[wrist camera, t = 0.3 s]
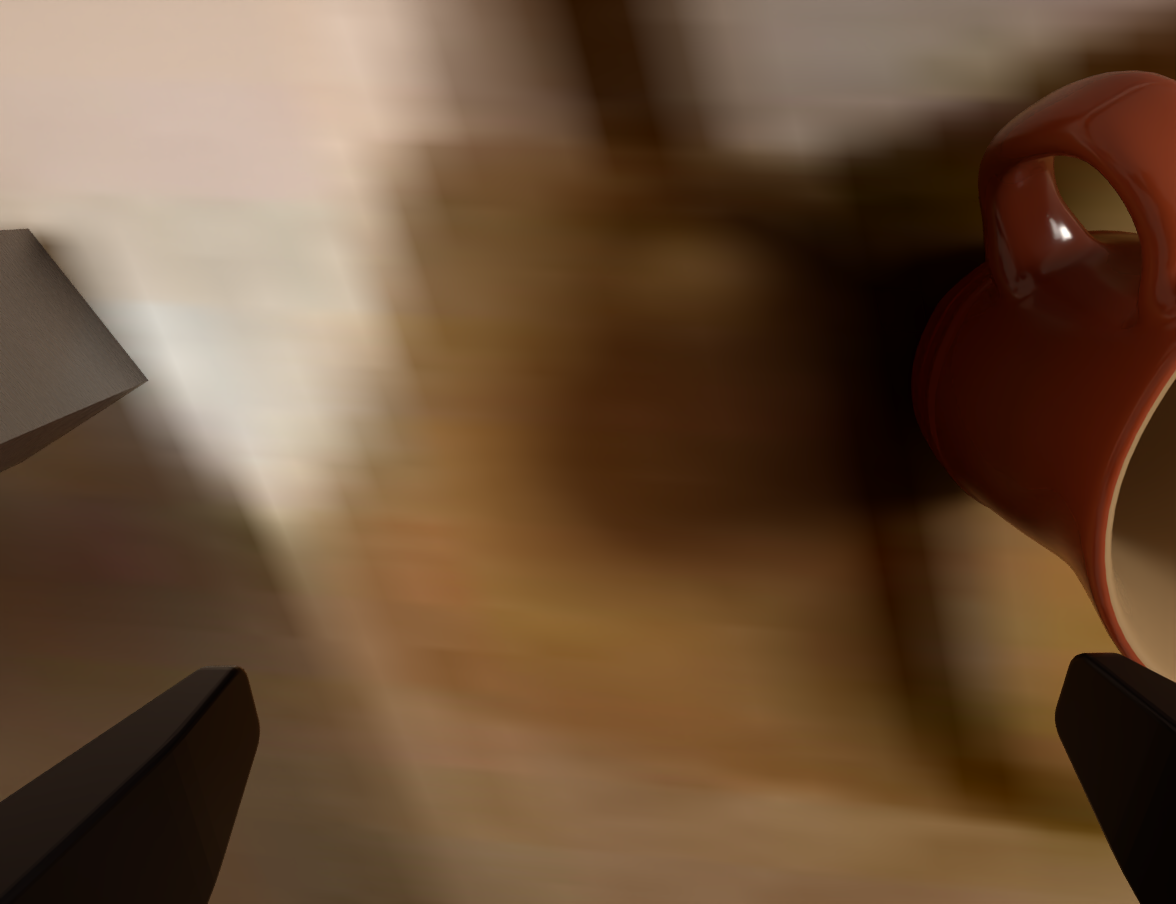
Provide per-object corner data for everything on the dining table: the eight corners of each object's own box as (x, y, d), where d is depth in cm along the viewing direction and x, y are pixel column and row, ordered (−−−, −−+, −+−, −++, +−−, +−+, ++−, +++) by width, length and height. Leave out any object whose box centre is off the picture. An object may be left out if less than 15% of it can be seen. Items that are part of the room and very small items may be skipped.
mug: (1230, 399, 22) (1737, 559, 12) (956, 560, 24) (1215, 814, 14) (1052, 16, 19) (1541, -170, 9) (751, 231, 21) (900, 263, 11)
